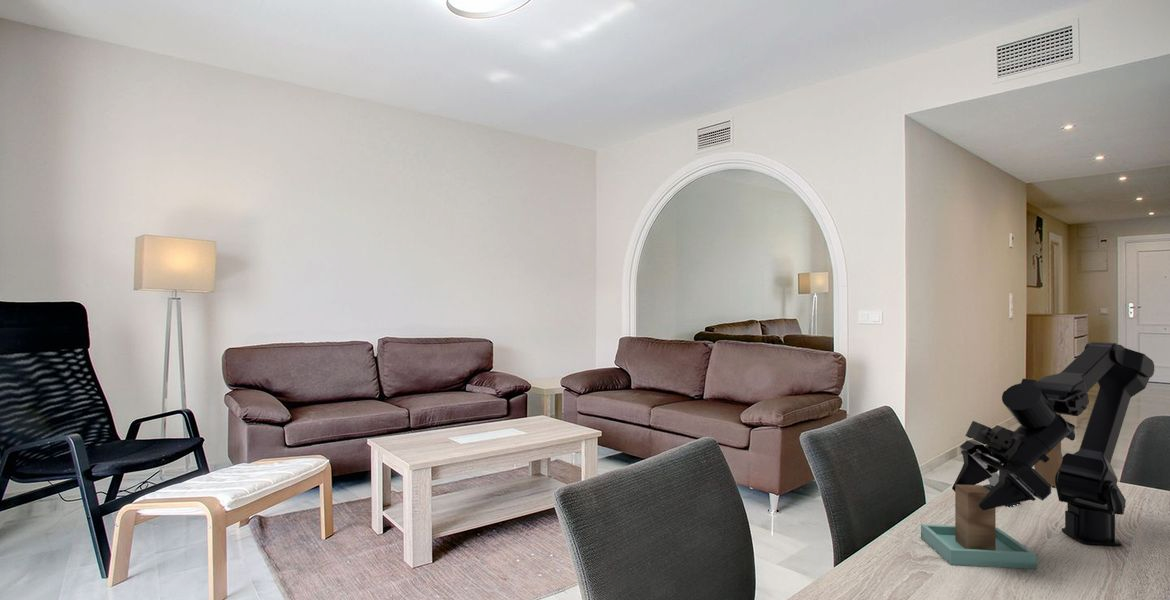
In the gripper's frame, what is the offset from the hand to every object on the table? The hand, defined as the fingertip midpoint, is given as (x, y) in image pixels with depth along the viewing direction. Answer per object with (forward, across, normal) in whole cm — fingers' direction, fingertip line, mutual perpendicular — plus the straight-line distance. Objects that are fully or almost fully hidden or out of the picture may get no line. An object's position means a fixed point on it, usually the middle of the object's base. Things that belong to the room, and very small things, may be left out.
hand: (966, 499), depth 105 cm
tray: (+6, 0, +8) cm, 10 cm away
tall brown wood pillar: (+5, 0, +7) cm, 9 cm away
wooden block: (-22, -42, +36) cm, 60 cm away
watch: (-8, -29, +22) cm, 37 cm away
